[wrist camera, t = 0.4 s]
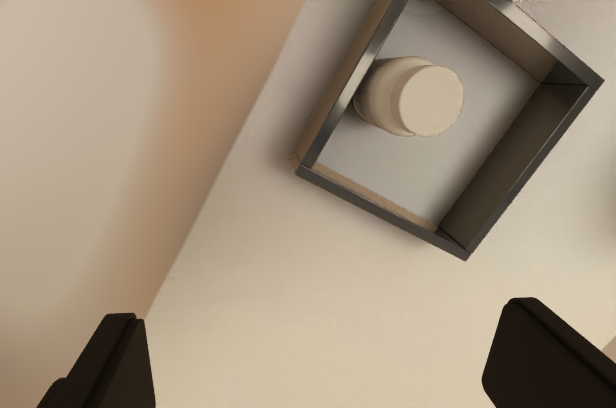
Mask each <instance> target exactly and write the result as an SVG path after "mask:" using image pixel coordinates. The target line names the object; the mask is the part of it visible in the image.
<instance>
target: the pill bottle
mask: <svg viewBox="0 0 616 408" xmlns="http://www.w3.org/2000/svg"><path fill="white" fill-rule="evenodd" d="M352 99H353V104H354V107H355V109H356V111H357V113H358V114H359V115H360V116H361V117H362V118H363V119H364V120H365V121H367V122H369V123H371V124H373V125H375V126H377V127H379V128H381V129H383V130H386V131H388V132H390V133H392V134H395V135H398V136H415V135H419V136H433V135H437V134H439V133H441V132H444V131H445V130H446V129H448V128H449V127H450V126H451V125H452V124H453V123H454V122H455V120H456V119H457V117H458V116H459V114H460V112H461V109H462V105H463V101H464V91H463V86H462V83H461V81H460V79H459V78H458V76H457V75H456V74H455V73H454V72H453V71H451V70H450V69H448V68H446V67H444V66H437V65H436V64H435V63H433V62H432V61H430V60H428V59H425V58H421V57H397V58H387V59H379V60H376V61H373V63H372V64H371V66H370V68H369V70H368V71H367V73H366V75H365V77H364V78H363V80H362V82H361V84H360V85H359V87H358V89H357V91H356V92H355V94H354V96H353V98H352Z"/></svg>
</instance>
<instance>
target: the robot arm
mask: <svg viewBox="0 0 616 408" xmlns="http://www.w3.org/2000/svg"><path fill="white" fill-rule="evenodd" d="M482 385H483V388H484V390H485V392H486V394H487V395H488V397H489V398H490V399H491V401H492V402H493V404H494V405H495V407H496V408H616V363H614V362H613V361H612V360H611V359H610V358H608V357H607V356H606V355H605V354H604V353H602V352H601V351H600V350H599V349H597V348H596V347H595V346H594V345H593V344H591V343H590V342H589V341H588V340H587V339H585V338H584V337H583V336H582V335H581V334H579V333H578V332H577V331H576V330H575V329H573V328H572V327H571V326H570V325H568V324H567V323H566V322H565V321H564V320H562V319H561V318H560V317H559V316H558V315H556V314H555V313H554V312H553V311H552V310H550V309H549V308H548V307H547V306H546V305H544V304H543V303H542V302H541V301H539V300H538V299H536V298H533V297H526V298H512V299H510V300H509V301H508V303H507V304H506V305H505V306H504V307H503V310H502V313H501V316H500V319H499V323H498V326H497V329H496V333H495V336H494V339H493V342H492V346H491V349H490V352H489V355H488V359H487V362H486V365H485V368H484V372H483V375H482ZM155 407H156V402H155V394H154V387H153V380H152V373H151V366H150V358H149V351H148V344H147V337H146V330H145V324H144V320H143V319H136V315H135V314H134V313H115V314H107V315H106V316H105V317H104V318H103V320H102V321H101V323H100V325H99V326H98V328H97V329H96V331H95V332H94V334H93V336H92V337H91V339H90V340H89V342H88V344H87V345H86V347H85V348H84V350H83V352H82V353H81V355H80V356H79V358H78V360H77V361H76V363H75V365H74V366H73V368H72V369H71V371H70V372H69V374H68V376H67V377H66V378H59V379H58V380H56V381H55V382H54V383H53V384H52V386H51V387H50V388H49V389H48V391H47V392H46V394H45V396H44V397H43V398H42V400H41V401H40V403H39V404H38V406H37V408H155Z"/></svg>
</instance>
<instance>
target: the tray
mask: <svg viewBox="0 0 616 408" xmlns="http://www.w3.org/2000/svg"><path fill="white" fill-rule="evenodd" d="M436 1H437V2H438V3H439V4H441V5H442V6H443V7H445V8H446V9H447V10H448V11H450V12H451V13H452V14H454V15H455V16H456V17H457V18H459V19H460V20H461V21H463V22H464V23H465V24H466V25H468V26H469V27H470V28H472V29H473V30H474V31H475V32H477V33H478V34H479V35H481V36H482V37H483V38H484V39H486V40H487V41H488V42H490V43H491V44H492V45H493V46H495V47H496V48H497V49H499V50H500V51H501V52H502V53H504V54H505V55H506V56H508V57H509V58H510V59H511V60H513V61H514V62H515V63H517V64H518V65H519V66H520V67H522V68H523V69H524V70H526V71H527V72H528V73H529V74H531V75H532V76H533V77H535V78H536V79H537V80H538V81H540V82H541V83H542V84H541V85H540V86H539V88H538V89H537V90H536V92H535V93H534V94H533V96H532V97H531V99H530V100H529V101H528V103H527V104H526V106H525V107H524V108H523V110H522V111H521V113H520V114H519V115H518V117H517V118H516V120H515V121H514V122H513V124H512V125H511V127H510V128H509V129H508V131H507V132H506V134H505V135H504V136H503V138H502V139H501V140H500V142H499V143H498V145H497V146H496V147H495V149H494V150H493V152H492V153H491V154H490V156H489V157H488V159H487V160H486V161H485V163H484V164H483V166H482V167H481V168H480V170H479V171H478V173H477V174H476V175H475V177H474V178H473V179H472V181H471V182H470V184H469V185H468V186H467V188H466V189H465V191H464V192H463V193H462V195H461V196H460V198H459V199H458V200H457V202H456V203H455V205H454V206H453V207H452V209H451V210H450V212H449V213H448V214H447V216H446V217H445V219H444V220H443V221H442V223H441V224H440V225H439V227H438V226H436V225H434V224H432V223H431V222H429V221H427V220H425V219H423V218H421V217H419V216H417V215H416V214H414V213H412V212H410V211H408V210H406V209H404V208H402V207H401V206H399V205H397V204H395V203H393V202H391V201H389V200H387V199H386V198H384V197H382V196H380V195H378V194H376V193H374V192H372V191H371V190H369V189H367V188H365V187H363V186H361V185H359V184H357V183H356V182H354V181H352V180H350V179H348V178H346V177H344V176H342V175H341V174H339V173H337V172H335V171H333V170H331V169H329V168H327V167H326V166H324V165H322V164H320V163H318V162H316V160H317V158H318V157H319V155H320V153H321V152H322V150H323V148H324V146H325V145H326V143H327V141H328V139H329V138H330V136H331V134H332V132H333V131H334V129H335V127H336V125H337V124H338V122H339V120H340V118H341V117H342V115H343V113H344V111H345V110H346V108H347V106H348V105H349V103H350V101H351V99H352V98H353V96H354V94H355V92H356V91H357V89H358V87H359V85H360V84H361V82H362V80H363V78H364V77H365V75H366V73H367V71H368V70H369V68H370V66H371V64H372V63H373V61H374V59H375V58H376V56H377V54H378V52H379V51H380V49H381V47H382V45H383V44H384V42H385V40H386V38H387V37H388V35H389V33H390V31H391V30H392V28H393V26H394V24H395V23H396V21H397V19H398V18H399V16H400V14H401V12H402V11H403V9H404V7H405V5H406V4H407V2H408V0H377V1H376V3H375V5H374V7H373V8H372V10H371V12H370V14H369V16H368V17H367V19H366V21H365V23H364V25H363V27H362V28H361V30H360V32H359V34H358V36H357V37H356V39H355V41H354V43H353V45H352V46H351V48H350V50H349V52H348V54H347V56H346V57H345V59H344V61H343V63H342V65H341V66H340V68H339V70H338V72H337V74H336V75H335V77H334V79H333V81H332V83H331V85H330V86H329V88H328V90H327V92H326V94H325V95H324V97H323V99H322V101H321V103H320V104H319V106H318V108H317V110H316V112H315V114H314V115H313V117H312V119H311V121H310V123H309V124H308V126H307V128H306V130H305V132H304V134H303V135H302V137H301V139H300V141H299V143H298V144H297V146H296V148H295V151H294V152H293V153H292V155H291V157H290V162H291V165H292V168H293V170H294V173H295V175H297V176H299V177H301V178H303V179H305V180H307V181H309V182H310V183H312V184H314V185H316V186H318V187H320V188H322V189H324V190H326V191H328V192H330V193H332V194H334V195H336V196H338V197H340V198H342V199H344V200H346V201H348V202H350V203H352V204H354V205H356V206H358V207H359V208H361V209H363V210H365V211H367V212H369V213H371V214H373V215H375V216H377V217H379V218H381V219H383V220H385V221H387V222H389V223H391V224H393V225H395V226H397V227H399V228H401V229H403V230H405V231H406V232H408V233H410V234H412V235H414V236H416V237H418V238H420V239H422V240H424V241H426V242H428V243H430V244H432V245H434V246H436V247H438V248H440V249H442V250H444V251H446V252H448V253H450V254H452V255H454V256H455V257H457V258H459V259H461V260H463V261H467V259H468V258H469V257H470V255H471V254H472V253H473V252H474V251H475V249H476V248H477V247H478V245H479V244H480V243H481V241H482V240H483V239H484V237H485V236H486V235H487V234H488V232H489V231H490V230H491V228H492V227H493V226H494V224H495V223H496V222H497V221H498V219H499V218H500V217H501V215H502V214H503V213H504V211H505V210H506V209H507V207H508V206H509V205H510V204H511V202H512V201H513V200H514V198H515V197H516V196H517V194H518V193H519V192H520V190H521V189H522V188H523V187H524V185H525V184H526V183H527V181H528V180H529V179H530V177H531V176H532V175H533V174H534V172H535V171H536V170H537V168H538V167H539V166H540V164H541V163H542V162H543V160H544V159H545V158H546V157H547V155H548V154H549V153H550V151H551V150H552V149H553V147H554V146H555V145H556V143H557V142H558V141H559V140H560V138H561V137H562V136H563V134H564V133H565V132H566V130H567V129H568V128H569V126H570V125H571V124H572V123H573V121H574V120H575V119H576V117H577V116H578V115H579V113H580V112H581V111H582V110H583V108H584V107H585V106H586V104H587V103H588V102H589V100H590V99H591V98H592V96H593V95H594V94H595V93H596V92H595V91H597V90H598V89H599V87H600V86H601V85H602V83H603V82H604V81H605V80H604V79H603V78H601V77H600V76H599V75H598V74H597V73H596V72H594V71H593V70H592V69H591V68H590V67H588V66H587V65H586V64H585V63H584V62H583V61H581V60H580V59H579V58H578V57H577V56H575V55H574V54H573V53H572V52H571V51H570V50H568V49H567V48H566V47H565V46H564V45H562V44H561V43H560V42H559V41H558V40H557V39H555V38H554V37H553V36H552V35H551V34H550V33H548V32H547V31H546V30H545V29H544V28H542V27H541V26H540V25H539V24H538V23H537V22H535V21H534V20H533V19H532V18H531V17H529V16H528V15H527V14H526V13H525V12H524V11H522V10H521V9H520V8H519V7H518V6H516V5H515V4H514V3H513V2H512V1H511V0H436Z"/></svg>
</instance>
